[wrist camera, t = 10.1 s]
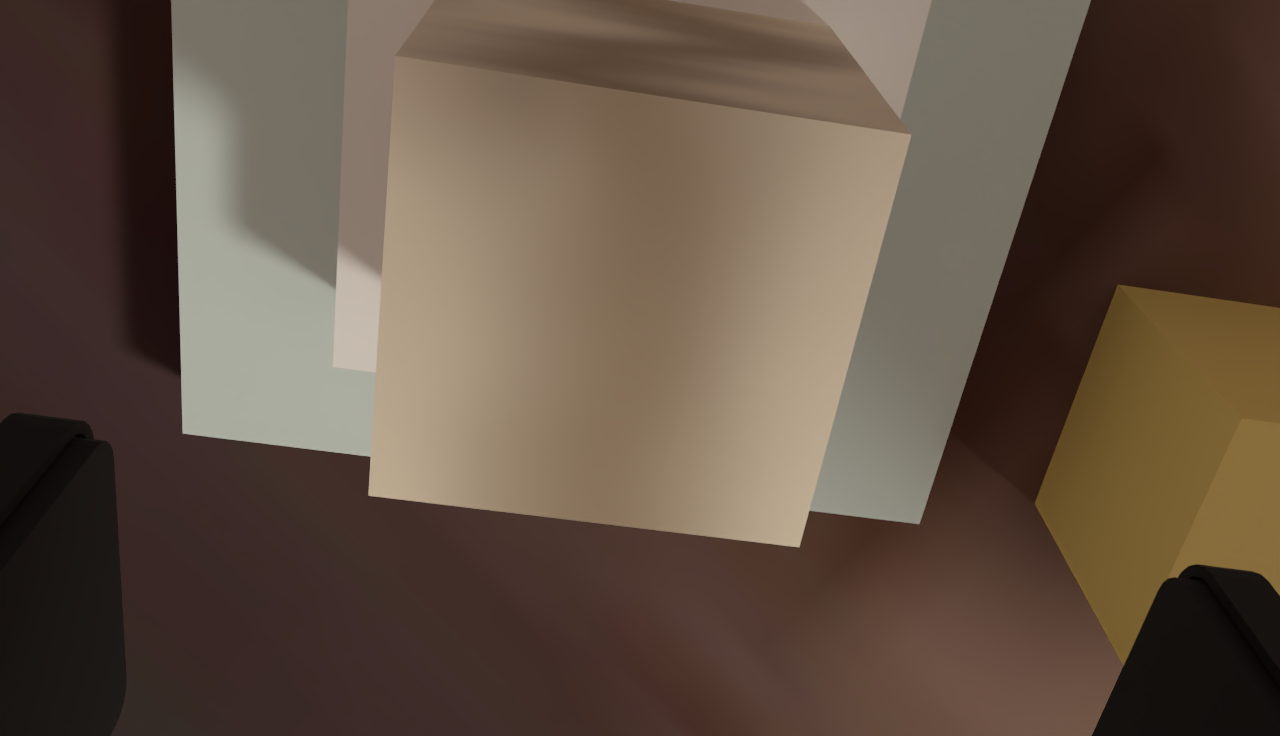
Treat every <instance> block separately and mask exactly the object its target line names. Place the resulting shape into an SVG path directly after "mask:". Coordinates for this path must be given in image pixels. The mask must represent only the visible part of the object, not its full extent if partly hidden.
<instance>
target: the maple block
mask: <svg viewBox="0 0 1280 736" xmlns="http://www.w3.org/2000/svg"><path fill="white" fill-rule="evenodd" d="M910 139H911V133H910V132H909V131H908V129H907V128H906V127H905V125H904V124H903V123H902V121H901V120H900V119H899V117H898V116H897V115H896V113H895V112H894V111H893V109H892V108H891V107H890V105H889V104H888V103H887V101H886V100H885V99H884V97H883V96H882V95H881V93H880V92H879V91H878V89H877V88H876V87H875V85H874V84H873V83H872V81H871V80H870V79H869V77H868V76H867V75H866V73H865V72H864V71H863V69H862V68H861V67H860V66H859V64H858V63H857V62H856V60H855V59H854V58H853V56H852V55H851V54H850V52H849V51H848V50H847V48H846V47H845V46H844V44H843V43H842V42H841V40H840V39H839V38H838V36H837V35H836V34H835V32H834V31H833V30H832V28H831V27H830V26H826V25H820V24H813V23H807V22H801V21H795V20H788V19H782V18H776V17H770V16H764V15H757V14H751V13H745V12H739V11H732V10H726V9H720V8H714V7H707V6H701V5H695V4H689V3H682V2H676V1H670V0H435V1H434V2H433V4H432V5H431V6H430V8H429V9H428V11H427V12H426V13H425V15H424V16H423V17H422V19H421V20H420V22H419V23H418V24H417V26H416V27H415V29H414V30H413V31H412V33H411V34H410V36H409V37H408V38H407V40H406V41H405V43H404V44H403V45H402V47H401V48H400V50H399V51H398V52H397V54H396V55H395V65H394V82H393V98H392V115H391V131H390V148H389V164H388V181H387V197H386V214H385V230H384V247H383V263H382V280H381V297H380V313H379V330H378V346H377V363H376V379H375V396H374V412H373V429H372V445H371V462H370V478H369V495H368V496H376V497H384V498H393V499H401V500H409V501H418V502H426V503H434V504H443V505H451V506H459V507H468V508H476V509H484V510H493V511H501V512H509V513H518V514H526V515H534V516H543V517H551V518H559V519H568V520H576V521H584V522H593V523H601V524H609V525H618V526H626V527H634V528H643V529H651V530H659V531H668V532H676V533H684V534H693V535H701V536H709V537H718V538H726V539H734V540H743V541H751V542H759V543H768V544H776V545H784V546H793V547H799V546H800V543H801V539H802V535H803V532H804V528H805V524H806V521H807V517H808V513H809V510H810V506H811V502H812V499H813V495H814V491H815V488H816V484H817V480H818V477H819V473H820V469H821V466H822V462H823V458H824V455H825V451H826V447H827V444H828V440H829V436H830V433H831V429H832V425H833V422H834V418H835V414H836V411H837V407H838V403H839V400H840V396H841V392H842V389H843V385H844V381H845V378H846V374H847V370H848V367H849V363H850V359H851V356H852V352H853V348H854V344H855V341H856V337H857V333H858V330H859V326H860V322H861V319H862V315H863V311H864V308H865V304H866V300H867V297H868V293H869V289H870V286H871V282H872V278H873V275H874V271H875V267H876V264H877V260H878V256H879V253H880V249H881V245H882V242H883V238H884V234H885V231H886V227H887V223H888V220H889V216H890V212H891V209H892V205H893V201H894V198H895V194H896V190H897V187H898V183H899V179H900V176H901V172H902V168H903V165H904V161H905V157H906V154H907V150H908V146H909V143H910Z"/></svg>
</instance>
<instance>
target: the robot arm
mask: <svg viewBox="0 0 1280 736" xmlns="http://www.w3.org/2000/svg"><path fill="white" fill-rule="evenodd" d="M125 692H126V661H125V644H124V627H123V609H122V592H121V575H120V558H119V540H118V523H117V506H116V488H115V471H114V457H113V450H112V448H111V445H110V444H109V443H108V442H107V441H101V440H94V438H93V433H92V430H91V428H90V426H89V424H87V423H86V422H84V421H79V420H72V419H64V418H56V417H48V416H40V415H33V414H25V413H13V414H11V415H9V416H8V417H7V418H5V419H4V420H3V421H2V422H1V423H0V736H110V735H111V733H112V731H113V729H114V727H115V725H116V723H117V721H118V718H119V716H120V713H121V710H122V706H123V702H124V698H125ZM1092 736H1280V595H1279V594H1278V593H1277V591H1276V590H1275V589H1274V588H1273V586H1272V585H1271V584H1270V582H1269V581H1268V580H1267V579H1266V578H1264V577H1263V576H1262V575H1261V574H1259V573H1256V572H1253V571H1246V570H1238V569H1230V568H1222V567H1215V566H1207V565H1199V564H1195V565H1191V566H1188V567H1187V568H1186V569H1184V570H1183V571H1182V572H1181V573H1180V575H1179V576H1178V578H1176V577H1173V578H1168V579H1167V580H1166V581H1165V582H1163V583H1162V585H1161V586H1160V588H1159V590H1158V592H1157V594H1156V596H1155V598H1154V600H1153V603H1152V605H1151V607H1150V609H1149V611H1148V614H1147V616H1146V618H1145V620H1144V622H1143V625H1142V627H1141V629H1140V631H1139V633H1138V636H1137V638H1136V640H1135V642H1134V644H1133V647H1132V649H1131V651H1130V653H1129V655H1128V658H1127V660H1126V662H1125V664H1124V666H1123V669H1122V671H1121V673H1120V675H1119V677H1118V680H1117V682H1116V684H1115V686H1114V688H1113V691H1112V693H1111V695H1110V697H1109V699H1108V702H1107V704H1106V706H1105V708H1104V710H1103V713H1102V715H1101V717H1100V719H1099V721H1098V724H1097V726H1096V728H1095V730H1094V732H1093V735H1092Z"/></svg>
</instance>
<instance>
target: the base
mask: <svg viewBox="0 0 1280 736" xmlns="http://www.w3.org/2000/svg"><path fill="white" fill-rule="evenodd" d="M434 1H435V0H171V13H172V50H173V88H174V125H175V162H176V200H177V237H178V275H179V312H180V349H181V387H182V424H183V434H191V435H199V436H207V437H215V438H223V439H231V440H240V441H248V442H256V443H264V444H272V445H280V446H288V447H296V448H305V449H313V450H321V451H329V452H337V453H345V454H353V455H361V456H370V457H371V445H372V429H373V412H374V396H375V379H376V363H377V346H378V330H379V313H380V297H381V280H382V263H383V247H384V230H385V214H386V197H387V181H388V164H389V148H390V131H391V115H392V98H393V82H394V65H395V55H396V54H397V52H398V51H399V50H400V48H401V47H402V45H403V44H404V43H405V41H406V40H407V38H408V37H409V36H410V34H411V33H412V31H413V30H414V29H415V27H416V26H417V24H418V23H419V22H420V20H421V19H422V17H423V16H424V15H425V13H426V12H427V11H428V9H429V8H430V6H431V5H432V4H433V2H434ZM670 1H676V2H682V3H689V4H695V5H701V6H707V7H714V8H720V9H726V10H732V11H739V12H745V13H751V14H757V15H764V16H770V17H776V18H782V19H788V20H795V21H801V22H807V23H813V24H820V25H826V26H830V27H831V28H832V30H833V31H834V32H835V34H836V35H837V36H838V38H839V39H840V40H841V42H842V43H843V44H844V46H845V47H846V48H847V50H848V51H849V52H850V54H851V55H852V56H853V58H854V59H855V60H856V62H857V63H858V64H859V66H860V67H861V68H862V69H863V71H864V72H865V73H866V75H867V76H868V77H869V79H870V80H871V81H872V83H873V84H874V85H875V87H876V88H877V89H878V91H879V92H880V93H881V95H882V96H883V97H884V99H885V100H886V101H887V103H888V104H889V105H890V107H891V108H892V109H893V111H894V112H895V113H896V115H897V116H898V117H899V119H900V120H901V121H902V123H903V124H904V125H905V127H906V128H907V129H908V131H909V132H910V133H911V139H910V143H909V146H908V150H907V154H906V157H905V161H904V165H903V168H902V172H901V176H900V179H899V183H898V187H897V190H896V194H895V198H894V201H893V205H892V209H891V212H890V216H889V220H888V223H887V227H886V231H885V234H884V238H883V242H882V245H881V249H880V253H879V256H878V260H877V264H876V267H875V271H874V275H873V278H872V282H871V286H870V289H869V293H868V297H867V300H866V304H865V308H864V311H863V315H862V319H861V322H860V326H859V330H858V333H857V337H856V341H855V344H854V348H853V352H852V356H851V359H850V363H849V367H848V370H847V374H846V378H845V381H844V385H843V389H842V392H841V396H840V400H839V403H838V407H837V411H836V414H835V418H834V422H833V425H832V429H831V433H830V436H829V440H828V444H827V447H826V451H825V455H824V458H823V462H822V466H821V469H820V473H819V477H818V480H817V484H816V488H815V491H814V495H813V499H812V502H811V506H810V510H809V511H816V512H824V513H833V514H841V515H849V516H857V517H865V518H873V519H881V520H889V521H898V522H906V523H914V524H920V521H921V518H922V515H923V512H924V509H925V506H926V503H927V500H928V497H929V493H930V490H931V487H932V484H933V481H934V478H935V475H936V472H937V469H938V466H939V463H940V460H941V457H942V454H943V451H944V448H945V445H946V442H947V439H948V435H949V432H950V429H951V426H952V423H953V420H954V417H955V414H956V411H957V408H958V405H959V402H960V399H961V396H962V393H963V390H964V387H965V384H966V381H967V377H968V374H969V371H970V368H971V365H972V362H973V359H974V356H975V353H976V350H977V347H978V344H979V341H980V338H981V335H982V332H983V329H984V326H985V323H986V319H987V316H988V313H989V310H990V307H991V304H992V301H993V298H994V295H995V292H996V289H997V286H998V283H999V280H1000V277H1001V274H1002V271H1003V268H1004V265H1005V261H1006V258H1007V255H1008V252H1009V249H1010V246H1011V243H1012V240H1013V237H1014V234H1015V231H1016V228H1017V225H1018V222H1019V219H1020V216H1021V213H1022V210H1023V207H1024V203H1025V200H1026V197H1027V194H1028V191H1029V188H1030V185H1031V182H1032V179H1033V176H1034V173H1035V170H1036V167H1037V164H1038V161H1039V158H1040V155H1041V152H1042V149H1043V145H1044V142H1045V139H1046V136H1047V133H1048V130H1049V127H1050V124H1051V121H1052V118H1053V115H1054V112H1055V109H1056V106H1057V103H1058V100H1059V97H1060V94H1061V90H1062V87H1063V84H1064V81H1065V78H1066V75H1067V72H1068V69H1069V66H1070V63H1071V60H1072V57H1073V54H1074V51H1075V48H1076V45H1077V42H1078V39H1079V36H1080V32H1081V29H1082V26H1083V23H1084V20H1085V17H1086V14H1087V11H1088V8H1089V5H1090V2H1091V0H670Z"/></svg>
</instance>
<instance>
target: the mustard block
mask: <svg viewBox="0 0 1280 736" xmlns="http://www.w3.org/2000/svg"><path fill="white" fill-rule="evenodd" d="M1035 505H1036V507H1037V509H1038V511H1039V513H1040V515H1041V516H1042V518H1043V520H1044V522H1045V524H1046V526H1047V527H1048V529H1049V531H1050V533H1051V535H1052V536H1053V538H1054V540H1055V542H1056V544H1057V546H1058V547H1059V549H1060V551H1061V553H1062V555H1063V557H1064V558H1065V560H1066V562H1067V564H1068V566H1069V568H1070V569H1071V571H1072V573H1073V575H1074V577H1075V578H1076V580H1077V582H1078V584H1079V586H1080V588H1081V589H1082V591H1083V593H1084V595H1085V597H1086V599H1087V600H1088V602H1089V604H1090V606H1091V608H1092V609H1093V611H1094V613H1095V615H1096V617H1097V619H1098V620H1099V622H1100V624H1101V626H1102V628H1103V630H1104V631H1105V633H1106V635H1107V637H1108V639H1109V640H1110V642H1111V644H1112V646H1113V648H1114V650H1115V651H1116V653H1117V655H1118V657H1119V659H1120V661H1121V662H1122V664H1123V666H1124V664H1125V662H1126V660H1127V658H1128V655H1129V653H1130V651H1131V649H1132V647H1133V644H1134V642H1135V640H1136V638H1137V636H1138V633H1139V631H1140V629H1141V627H1142V625H1143V622H1144V620H1145V618H1146V616H1147V614H1148V611H1149V609H1150V607H1151V605H1152V603H1153V600H1154V598H1155V596H1156V594H1157V592H1158V590H1159V588H1160V586H1161V585H1162V583H1163V582H1165V581H1166V580H1167V579H1168V578H1173V577H1176V578H1178V576H1179V575H1180V573H1181V572H1182V571H1183V570H1184V569H1186V568H1187V567H1188V566H1191V565H1195V564H1199V565H1207V566H1215V567H1222V568H1230V569H1238V570H1246V571H1253V572H1256V573H1259V574H1261V575H1262V576H1263V577H1264V578H1266V579H1267V580H1268V581H1269V582H1270V584H1271V585H1272V586H1273V588H1274V589H1275V590H1276V591H1277V593H1278V594H1279V595H1280V308H1277V307H1271V306H1264V305H1257V304H1250V303H1243V302H1236V301H1229V300H1222V299H1215V298H1208V297H1201V296H1194V295H1187V294H1180V293H1173V292H1166V291H1159V290H1153V289H1146V288H1139V287H1132V286H1125V285H1117V288H1116V290H1115V293H1114V296H1113V298H1112V301H1111V303H1110V306H1109V309H1108V311H1107V314H1106V317H1105V319H1104V322H1103V324H1102V327H1101V330H1100V332H1099V335H1098V338H1097V340H1096V343H1095V346H1094V348H1093V351H1092V353H1091V356H1090V359H1089V361H1088V364H1087V367H1086V369H1085V372H1084V375H1083V377H1082V380H1081V382H1080V385H1079V388H1078V390H1077V393H1076V396H1075V398H1074V401H1073V404H1072V406H1071V409H1070V411H1069V414H1068V417H1067V419H1066V422H1065V425H1064V427H1063V430H1062V433H1061V435H1060V438H1059V440H1058V443H1057V446H1056V448H1055V451H1054V454H1053V456H1052V459H1051V461H1050V464H1049V467H1048V469H1047V472H1046V475H1045V477H1044V480H1043V483H1042V485H1041V488H1040V490H1039V493H1038V496H1037V498H1036V501H1035Z"/></svg>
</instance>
